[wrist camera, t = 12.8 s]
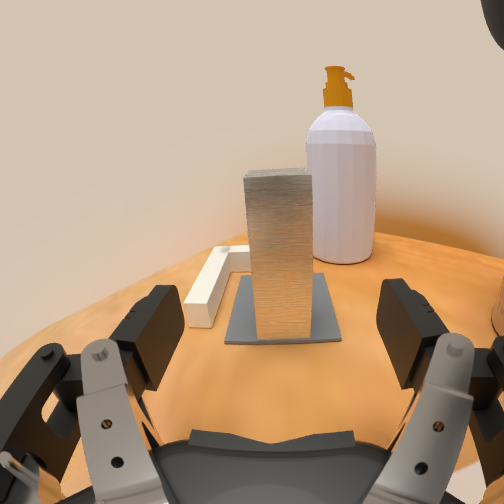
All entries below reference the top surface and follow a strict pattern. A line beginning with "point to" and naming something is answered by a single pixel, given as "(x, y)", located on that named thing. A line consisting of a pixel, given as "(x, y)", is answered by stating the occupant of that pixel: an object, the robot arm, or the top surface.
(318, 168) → the soap bottle
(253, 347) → the top surface
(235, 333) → the pad
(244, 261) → the corner piece
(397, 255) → the top surface
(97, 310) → the top surface
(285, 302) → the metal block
